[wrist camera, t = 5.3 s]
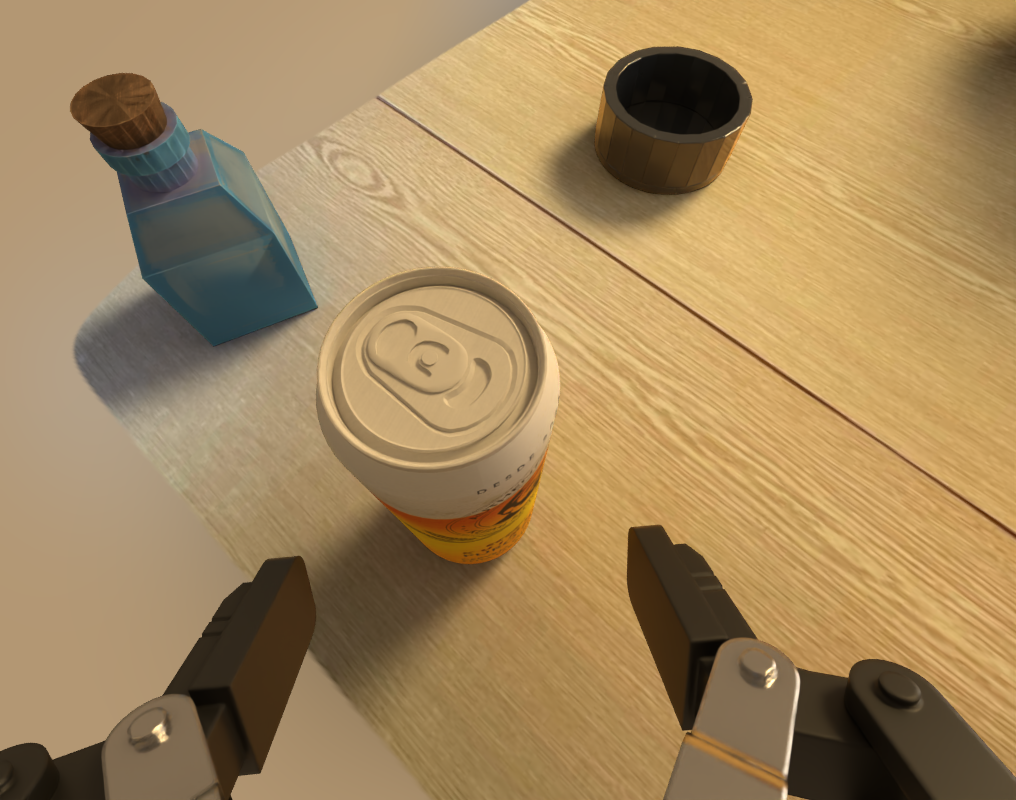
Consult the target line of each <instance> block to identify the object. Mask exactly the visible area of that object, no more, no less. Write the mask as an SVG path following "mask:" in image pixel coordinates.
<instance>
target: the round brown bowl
mask: <svg viewBox="0 0 1016 800" xmlns="http://www.w3.org/2000/svg"><path fill="white" fill-rule="evenodd" d="M751 108H752V96H751V93H750V90H749V87H748V84H747V82H746V81H745V80H744V78H743V77H742V76H741V75H740V74H739V73H738V71H737V70H736V69H735V68H733V67H732V66H730V65H729V64H727V63H726V62H724V61H723V60H721V59H720V58H718V57H715V56H713V55H710V54H707V53H705V52H702V51H700V50H696V49H690V48H684V47H678V46H676V47H651V48H646V49H642V50H638V51H635V52H633V53H631V54H629V55H627V56H625V57H623V58H622V59H620V60H618V61H617V63H616V64H615V65H614V66H613V67H612V68H611V69H610V70H609V71H608V73H607V76H606V79H605V82H604V86H603V91H602V96H601V102H600V107H599V113H598V118H597V124H596V129H595V141H594V143H595V150H596V153H597V156H598V158H599V160H600V162H601V163H602V165H603V166H604V167H605V168H606V169H607V171H608V172H609V173H611V174H612V175H613V176H614V177H615V178H617V179H618V180H620V181H621V182H623V183H625V184H627V185H629V186H631V187H633V188H636V189H639V190H642V191H645V192H650V193H655V194H683V193H688V192H692V191H695V190H698V189H700V188H702V187H705V186H706V185H708V184H709V183H711V182H712V181H713V180H715V179H716V178H717V177H718V176H719V174H720V173H721V172H722V170H723V169H724V167H725V165H726V163H727V161H728V160H729V158H730V156H731V154H732V152H733V150H734V147H735V145H736V143H737V141H738V139H739V137H740V135H741V133H742V131H743V129H744V127H745V125H746V122H747V120H748V118H749V116H750V114H751Z"/></svg>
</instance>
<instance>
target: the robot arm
mask: <svg viewBox="0 0 1016 800" xmlns="http://www.w3.org/2000/svg"><path fill="white" fill-rule="evenodd" d="M627 586H628V592H629V597H630V600H631V604H632V606H633V609H634V611H635V614H636V616H637V619H638V621H639V624H640V626H641V629H642V631H643V634H644V636H645V639H646V641H647V644H648V646H649V649H650V651H651V653H652V656H653V658H654V661H655V663H656V666H657V668H658V671H659V673H660V676H661V678H662V681H663V683H664V686H665V688H666V691H667V693H668V696H669V698H670V701H671V703H672V706H673V708H674V711H675V713H676V716H677V718H678V721H679V723H680V726H681V728H682V731H683V730H692V731H691V733H689V732H687V733H686V735H685V737H684V739H683V742H682V745H681V748H680V751H679V754H678V757H677V760H676V763H675V766H674V769H673V772H672V775H671V778H670V781H669V784H668V787H667V790H666V793H665V796H664V799H663V800H787V794H788V795H792V796H796V797H800V798H804V799H809V800H1016V777H1015V776H1014V775H1013V774H1012V773H1011V772H1010V770H1009V769H1008V768H1007V767H1006V766H1005V765H1004V764H1003V763H1002V762H1001V760H1000V759H999V758H998V757H997V756H996V755H995V754H994V753H993V751H992V750H991V749H990V748H989V747H988V746H987V745H986V744H985V743H984V741H983V740H982V739H981V738H980V737H979V736H978V735H977V734H976V733H975V731H974V730H973V729H972V728H971V727H970V726H969V725H968V724H967V722H966V721H965V720H964V719H963V718H962V717H961V716H960V715H959V714H958V712H957V711H956V710H955V709H954V708H953V707H952V706H951V705H950V703H949V702H948V701H947V700H946V699H945V698H944V697H943V696H942V695H941V693H940V692H939V691H938V690H937V689H936V688H935V687H934V686H933V685H932V684H930V683H929V682H928V681H927V680H926V679H924V678H923V677H921V676H920V675H918V674H917V673H915V672H913V671H911V670H910V669H908V668H905V667H903V666H901V665H898V664H896V663H893V662H889V661H885V660H879V659H867V660H862V661H859V662H857V663H856V664H854V665H853V667H852V668H851V670H850V673H849V677H848V678H846V677H840V676H834V675H829V674H823V673H818V672H812V671H807V670H803V669H800V668H797V667H795V665H794V664H793V662H792V661H791V660H790V659H789V658H788V657H787V656H786V655H785V654H784V653H783V652H781V651H780V650H778V649H777V648H775V647H774V646H772V645H770V644H768V643H766V642H763V641H760V640H758V639H757V637H756V636H755V634H754V633H753V631H752V630H751V628H750V627H749V625H748V624H747V622H746V621H745V619H744V618H743V616H742V615H741V613H740V612H739V610H738V609H737V607H736V606H735V604H734V603H733V601H732V600H731V598H730V597H729V595H728V594H727V592H726V591H725V589H723V588H722V585H721V583H720V582H719V580H718V579H717V577H716V576H714V574H713V571H712V570H711V568H710V567H709V565H708V564H707V562H706V561H705V559H704V558H703V556H701V555H700V554H699V553H697V552H696V551H695V550H693V549H692V548H691V547H689V546H688V545H687V544H675V545H673V543H672V542H671V540H670V538H669V537H668V535H667V533H666V532H665V530H664V528H663V527H662V526H661V525H651V526H639V527H630V529H629V533H628V558H627ZM315 623H316V608H315V603H314V599H313V595H312V591H311V587H310V583H309V579H308V575H307V571H306V567H305V563H304V560H303V559H302V557H301V556H294V557H283V558H272V559H267V560H266V561H265V562H264V563H263V565H262V566H261V568H260V570H259V571H258V573H257V575H256V576H255V578H254V580H253V581H252V582H248V583H243V584H241V585H240V586H239V587H238V588H237V589H236V590H235V591H233V592H232V593H231V594H230V595H229V596H228V597H226V598H225V599H224V600H223V602H222V603H221V605H220V607H219V608H218V610H217V611H216V613H215V615H214V616H213V618H212V622H209V624H208V625H207V627H206V629H205V630H204V632H203V633H202V638H199V640H198V641H197V643H196V644H195V646H194V647H193V649H192V650H191V652H190V653H189V655H188V656H187V658H186V660H185V661H184V663H183V664H182V666H181V667H180V669H179V671H178V672H177V674H176V675H175V677H174V679H173V680H172V681H171V683H170V685H169V686H168V688H167V689H166V691H165V693H164V694H163V695H162V696H160V697H158V698H155V699H152V700H150V701H148V702H146V703H144V704H143V705H141V706H139V707H137V708H136V709H135V710H133V711H132V712H130V713H129V714H128V715H127V716H126V717H124V718H123V719H122V720H121V721H120V722H119V723H118V724H117V725H116V726H115V728H114V729H113V730H112V731H111V733H110V734H109V736H108V737H107V739H106V740H105V741H103V742H100V743H98V744H95V745H92V746H89V747H87V748H84V749H81V750H78V751H76V752H73V753H70V754H68V755H65V756H62V757H59V758H56V759H54V760H52V759H51V757H50V755H49V753H48V751H47V750H46V748H45V747H44V746H43V745H41V744H37V743H24V744H20V745H16V746H13V747H10V748H7V749H5V750H2V751H0V800H232V798H231V795H230V794H231V792H232V790H233V787H234V785H235V782H236V780H237V778H238V776H241V775H250V774H259V773H261V770H262V768H263V765H264V762H265V760H266V757H267V754H268V752H269V749H270V746H271V744H272V741H273V739H274V736H275V733H276V731H277V728H278V725H279V723H280V720H281V718H282V715H283V712H284V710H285V707H286V704H287V702H288V699H289V696H290V694H291V691H292V689H293V686H294V683H295V680H296V678H297V675H298V673H299V670H300V667H301V665H302V662H303V659H304V656H305V654H306V652H307V649H308V646H309V644H310V641H311V638H312V636H313V633H314V629H315Z"/></svg>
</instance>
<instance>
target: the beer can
mask: <svg viewBox="0 0 1016 800" xmlns="http://www.w3.org/2000/svg"><path fill="white" fill-rule="evenodd" d="M559 396H560V375H559V367H558V363H557V359H556V355H555V353H554V350H553V348H552V345H551V343H550V341H549V339H548V338H547V336H546V334H545V332H544V331H543V330H542V328H541V327H540V325H539V324H538V322H537V320H536V318H535V316H534V315H533V313H532V312H531V311H530V309H529V308H528V306H527V305H526V304H525V303H524V302H523V301H522V300H521V299H520V298H519V297H518V296H517V295H516V294H515V293H514V292H513V291H511V290H510V289H509V288H507V287H506V286H504V285H503V284H501V283H499V282H498V281H496V280H494V279H492V278H490V277H487V276H485V275H483V274H480V273H477V272H473V271H470V270H465V269H460V268H453V267H425V268H417V269H412V270H407V271H404V272H400V273H397V274H394V275H392V276H389V277H387V278H384V279H382V280H380V281H378V282H376V283H374V284H373V285H371V286H370V287H368V288H366V289H365V290H363V291H362V292H361V293H359V294H358V295H357V296H356V297H354V298H353V299H352V300H351V301H350V302H349V303H348V304H347V305H346V306H345V307H344V308H343V309H342V311H341V312H340V313H339V314H338V315H337V317H336V318H335V320H334V321H333V323H332V324H331V326H330V328H329V330H328V331H327V333H326V335H325V338H324V340H323V343H322V346H321V349H320V353H319V358H318V366H317V388H316V408H317V414H318V420H319V423H320V426H321V430H322V432H323V435H324V437H325V439H326V441H327V443H328V445H329V447H330V448H331V450H332V451H333V453H334V454H335V456H336V457H337V458H338V459H339V461H340V462H341V463H342V464H343V465H344V466H345V467H346V468H347V469H348V470H349V471H350V472H351V473H352V474H353V475H354V476H355V477H356V478H357V479H358V480H359V481H360V482H361V483H362V484H363V485H364V486H365V487H366V488H367V489H368V490H369V491H370V492H371V493H372V494H373V495H374V496H375V497H376V498H377V499H378V500H379V501H380V502H381V503H382V504H383V505H384V506H385V507H386V508H387V509H388V510H389V511H391V512H392V513H393V514H394V515H395V516H396V517H397V518H398V519H399V520H400V521H401V522H402V523H403V524H404V525H405V526H406V527H407V528H408V529H409V530H410V531H411V532H412V533H413V534H414V535H415V536H416V537H417V538H418V539H419V540H420V541H421V542H422V543H423V544H424V545H425V546H426V547H427V548H428V549H430V550H431V551H432V552H433V553H435V554H436V555H438V556H440V557H442V558H444V559H446V560H449V561H452V562H456V563H462V564H477V563H483V562H487V561H490V560H493V559H495V558H497V557H499V556H501V555H503V554H504V553H506V552H507V551H509V550H510V549H511V548H512V547H513V546H514V545H515V544H516V543H517V542H518V541H519V540H520V538H521V537H522V535H523V534H524V532H525V530H526V529H527V527H528V524H529V522H530V519H531V515H532V511H533V507H534V503H535V499H536V495H537V491H538V487H539V483H540V478H541V474H542V470H543V466H544V462H545V458H546V454H547V450H548V445H549V441H550V437H551V433H552V429H553V425H554V421H555V417H556V412H557V408H558V403H559Z"/></svg>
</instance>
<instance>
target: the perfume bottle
mask: <svg viewBox="0 0 1016 800" xmlns="http://www.w3.org/2000/svg"><path fill="white" fill-rule="evenodd" d="M70 112H71V114H72V116H73V118H74V119H75V120H77V121H78V122H79V123H80V124H81V125H83V126H84V127H85V128H86V129H87V130H89V131H90V141H91V143H92V145H93V147H94V148H95V149H96V151H98V153H99V154H100V155H101V156H102V158H103V159H104V160H105V161H106V162H107V163H108V164H109V166H110V167H111V168H113V169H114V170H115V171H117V175H118V179H119V183H120V187H121V192H122V197H123V201H124V205H125V210H126V214H127V218H128V222H129V226H130V230H131V234H132V238H133V242H134V246H135V250H136V254H137V258H138V262H139V266H140V270H141V275H142V279H144V280H145V281H146V282H147V283H148V284H149V285H150V286H151V287H152V288H153V289H154V290H155V291H156V292H157V293H158V294H159V295H160V296H161V297H162V298H163V299H164V300H166V301H167V302H168V303H169V304H170V305H171V306H172V307H173V308H174V309H175V310H176V311H177V312H178V313H179V314H180V315H181V316H182V317H183V318H184V319H185V320H187V321H188V322H189V323H190V324H191V325H192V326H193V327H194V328H195V329H196V330H197V331H198V332H199V333H200V334H201V335H202V336H203V337H204V338H205V339H206V340H207V341H209V342H210V343H211V344H212V345H213V346H216V345H219V344H221V343H224V342H227V341H229V340H232V339H235V338H237V337H240V336H243V335H246V334H248V333H251V332H254V331H256V330H259V329H262V328H264V327H267V326H270V325H272V324H275V323H278V322H280V321H283V320H286V319H288V318H291V317H294V316H296V315H299V314H302V313H304V312H307V311H310V310H312V309H315V308H318V306H317V304H316V301H315V299H314V296H313V294H312V291H311V289H310V286H309V283H308V281H307V278H306V276H305V273H304V271H303V268H302V266H301V263H300V261H299V258H298V255H297V253H296V250H295V248H294V245H293V243H292V240H291V238H290V235H289V233H288V231H287V230H286V228H285V226H284V224H283V222H282V221H281V219H280V217H279V215H278V213H277V212H276V210H275V208H274V206H273V204H272V203H271V201H270V199H269V197H268V195H267V194H266V192H265V190H264V188H263V186H262V185H261V183H260V181H259V179H258V177H257V176H256V174H255V172H254V170H253V168H252V167H251V165H250V163H249V161H248V159H247V158H246V156H245V154H244V152H242V151H241V150H239V149H237V148H235V147H233V146H231V145H230V144H228V143H226V142H224V141H222V140H220V139H219V138H217V137H215V136H213V135H211V134H209V133H207V132H206V131H204V130H202V129H199V130H196V131H192V132H189V133H188V132H187V130H186V129H185V127H184V126H183V124H182V123H181V121H180V119H179V118H178V117H177V115H176V113H175V112H174V110H173V109H172V108H171V107H170V106H168V105H167V104H165V103H163V102H160V100H159V98H158V95H157V93H156V90H155V88H154V86H153V84H152V83H151V81H150V80H148V79H147V78H145V77H143V76H140V75H137V74H133V73H119V74H112V75H107V76H104V77H101V78H99V79H96V80H94V81H92V82H90V83H89V84H87V85H85V86H83V87H82V88H81V89H80V90H79V91H78V92H77V93H76V94H75V96H74V98H73V99H72V101H71V104H70Z"/></svg>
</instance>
